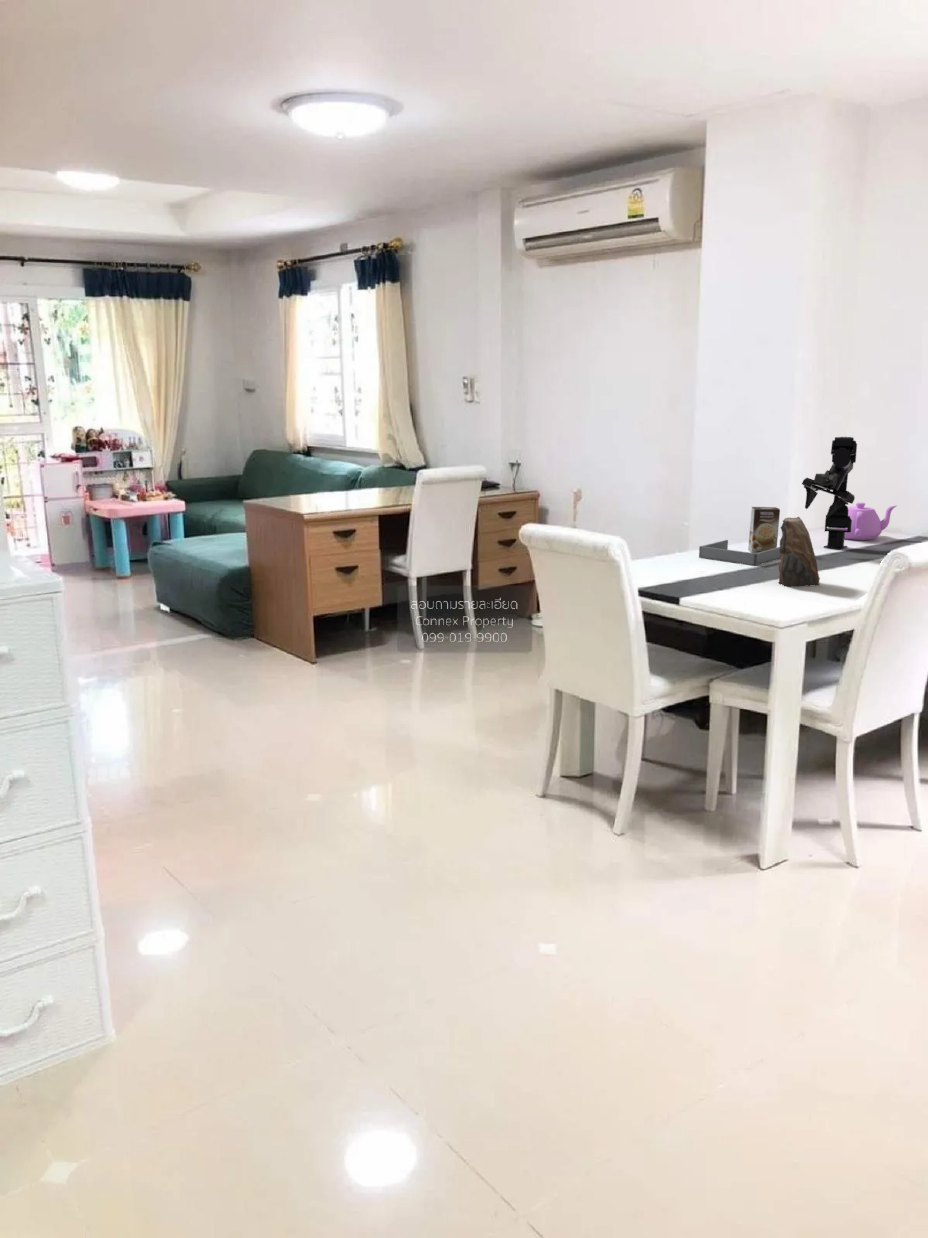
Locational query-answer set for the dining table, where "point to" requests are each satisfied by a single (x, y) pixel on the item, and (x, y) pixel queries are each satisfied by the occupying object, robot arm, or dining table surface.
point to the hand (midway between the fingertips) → (816, 512)
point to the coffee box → (763, 529)
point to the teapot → (866, 522)
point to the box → (736, 554)
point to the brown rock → (796, 555)
